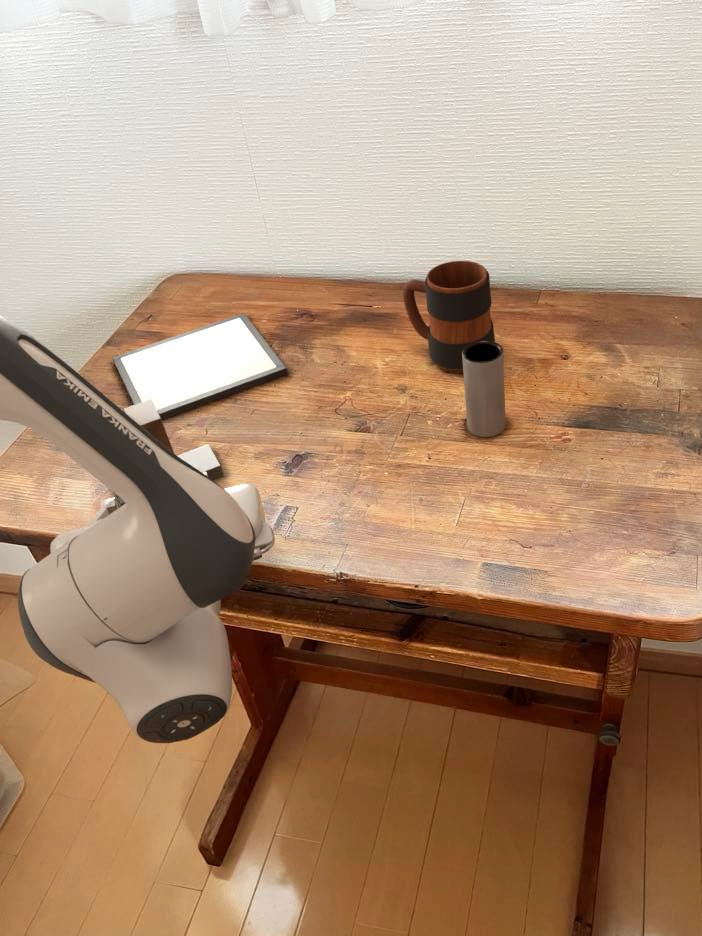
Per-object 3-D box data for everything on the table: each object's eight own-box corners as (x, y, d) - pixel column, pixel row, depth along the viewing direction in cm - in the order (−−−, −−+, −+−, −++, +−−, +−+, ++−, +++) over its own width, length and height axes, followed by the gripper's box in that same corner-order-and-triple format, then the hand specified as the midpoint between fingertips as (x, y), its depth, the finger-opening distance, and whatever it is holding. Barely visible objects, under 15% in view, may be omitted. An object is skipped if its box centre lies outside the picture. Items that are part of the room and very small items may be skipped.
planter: (472, 413, 101) (467, 338, 94) (509, 416, 100) (506, 341, 92) (463, 436, 98) (457, 361, 91) (501, 439, 97) (498, 363, 89)
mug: (423, 331, 115) (414, 251, 107) (505, 344, 111) (502, 261, 103) (396, 365, 110) (385, 284, 102) (480, 380, 105) (476, 296, 97)
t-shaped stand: (124, 513, 95) (92, 444, 88) (115, 489, 98) (83, 421, 91) (224, 475, 98) (200, 405, 91) (212, 452, 101) (187, 384, 94)
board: (143, 426, 106) (141, 420, 106) (114, 363, 119) (111, 357, 118) (288, 374, 111) (286, 368, 111) (245, 318, 123) (243, 312, 123)
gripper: (270, 527, 75) (247, 439, 84) (41, 591, 72) (44, 494, 82) (285, 574, 79) (261, 486, 89) (69, 637, 76) (69, 539, 86)
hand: (156, 490), depth 85 cm, fingers open, 8 cm apart
